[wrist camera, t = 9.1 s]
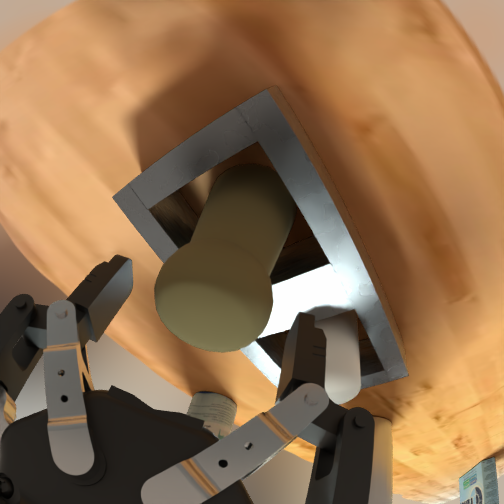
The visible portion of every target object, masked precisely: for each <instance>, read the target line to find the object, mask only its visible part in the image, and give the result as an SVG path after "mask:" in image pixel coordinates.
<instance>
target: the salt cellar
mask: <svg viewBox="0 0 504 504" xmlns="http://www.w3.org/2000/svg"><path fill="white" fill-rule="evenodd" d="M315 327H316V328H320V329H323V331H324V334H325V336H326V338H327V346H326V371H325V391H326V392H327V394H328V397H329V398H330V399H331V400H332V401H333V402H334V403H336V404H338V405H339V404H342V403H345V402H348V401H350V400H351V399H353V398H354V397H355V396H357V394H358V393H359V391H360V389H361V376H360V354H359V338H358V324H357V315H356V311H355V309H352V310H349V311H346V312H343V313H340V314H337V315H334V316H331V317H328V318H325V319H322V320H318V321H315Z"/></svg>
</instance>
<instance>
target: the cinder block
mask: <svg viewBox="0 0 504 504" xmlns="http://www.w3.org/2000/svg"><path fill="white" fill-rule="evenodd" d="M257 141H258V142H259V144H260V145H261V147H262V148H263V150H264V151H265V153H266V155H267V156H268V158H269V159H270V161H271V163H272V164H273V166H274V167H275V169H276V171H277V172H278V174H279V176H280V177H281V179H282V180H283V182H284V184H285V185H286V187H287V189H288V190H289V192H290V194H291V195H292V197H293V199H294V200H295V202H296V204H297V205H298V207H299V209H300V210H301V212H302V214H303V216H304V217H305V219H306V221H307V223H308V224H309V226H310V228H311V229H312V231H313V233H314V236H312V237H309V238H307V239H305V240H302V241H300V242H297V243H295V244H293V245H290V246H288V247H285V248H283V249H282V250H281V252H280V254H279V257H278V259H277V261H276V263H275V265H274V268H273V270H272V272H271V274H270V276H269V277H270V279H271V284H272V291H273V300H274V303H273V309H272V313H271V316H270V319H269V322H268V324H267V326H266V328H265V330H264V331H263V333H262V334H261V335H260V336H259V337H258V338H257V339H256V340H255V341H253V342H252V343H251V344H249V345H248V346H246V347H244V348H241V349H240V350H241V351H242V352H243V353H244V354H245V355H246V356H247V357H248V359H249V360H250V361H251V362H252V363H253V364H254V365H255V366H256V367H257V368H258V369H259V370H260V371H261V372H262V373H263V374H264V375H265V376H266V377H267V378H268V379H269V380H270V381H271V382H272V383H273V384H274V385H275V386H276V387H277V388H278V384H279V379H280V373H281V367H282V360H283V354H284V348H285V342H286V339H287V335H286V333H285V332H284V331H285V330H288V329H290V328H291V326H292V324H293V322H294V320H295V317H296V315H297V313H298V312H299V311H301V312H305V313H308V314H312V315H315V321H318V320H322V319H325V318H328V317H331V316H334V315H337V314H340V313H343V312H346V311H349V310H352V309H355V311H356V313H357V314H358V316H359V318H360V320H361V322H362V324H363V326H364V328H365V330H366V332H367V334H368V336H369V339H366V340H362V341H359V354H360V376H361V389H364V388H368V387H371V386H375V385H379V384H383V383H386V382H390V381H393V380H397V379H400V378H403V377H406V376H409V374H408V368H407V362H406V356H405V350H404V344H403V340H402V337H401V335H400V332H399V329H398V326H397V324H396V321H395V318H394V316H393V313H392V310H391V308H390V305H389V303H388V300H387V298H386V295H385V293H384V290H383V288H382V285H381V283H380V281H379V278H378V276H377V273H376V271H375V269H374V266H373V264H372V262H371V260H370V257H369V255H368V253H367V251H366V248H365V246H364V244H363V242H362V240H361V237H360V235H359V233H358V231H357V229H356V227H355V225H354V223H353V220H352V218H351V216H350V214H349V212H348V210H347V208H346V206H345V204H344V202H343V200H342V198H341V196H340V194H339V192H338V190H337V188H336V187H335V185H334V183H333V181H332V179H331V177H330V175H329V173H328V171H327V170H326V168H325V166H324V164H323V162H322V160H321V159H320V157H319V155H318V153H317V151H316V150H315V148H314V146H313V144H312V143H311V141H310V139H309V137H308V136H307V134H306V132H305V131H304V129H303V127H302V125H301V124H300V122H299V120H298V119H297V117H296V115H295V114H294V112H293V111H292V109H291V107H290V106H289V104H288V103H287V101H286V99H285V98H284V96H283V95H282V93H281V91H280V90H279V88H278V87H277V85H275V86H273V87H270V88H268V89H266V90H264V91H262V92H260V93H259V94H257V95H255V96H254V97H252V98H250V99H248V100H247V101H245V102H243V103H242V104H240V105H239V106H237V107H235V108H234V109H232V110H230V111H229V112H227V113H226V114H224V115H223V116H221V117H219V118H218V119H216V120H215V121H213V122H212V123H210V124H209V125H207V126H206V127H204V128H203V129H201V130H200V131H198V132H197V133H195V134H194V135H192V136H191V137H190V138H188V139H187V140H185V141H184V142H182V143H181V144H180V145H178V146H177V147H175V148H174V149H173V150H171V151H170V152H169V153H167V154H166V155H165V156H163V157H162V158H160V159H159V160H158V161H157V162H155V163H154V164H153V165H151V166H150V167H149V168H147V169H146V170H145V171H144V172H142V173H141V174H140V175H138V176H137V177H136V178H135V179H133V180H132V181H131V182H130V183H128V184H127V185H126V186H125V187H124V188H122V189H121V190H120V191H119V192H118V193H116V194H115V195H114V196H113V197H112V198H113V199H114V200H115V202H116V203H117V204H118V206H119V207H120V208H121V210H122V211H123V212H124V214H125V215H126V216H127V218H128V219H129V220H130V222H131V223H132V224H133V225H134V227H135V228H136V229H137V231H138V232H139V233H140V234H141V236H142V237H143V238H144V239H145V241H146V242H147V243H148V244H149V246H150V247H151V248H152V249H153V251H154V252H155V253H156V254H157V256H158V257H159V258H160V259H161V260H162V262H163V263H165V262H166V260H167V259H168V258H169V257H170V256H171V255H172V254H174V253H175V252H176V251H177V250H178V249H180V248H181V247H182V246H184V245H185V244H188V243H190V241H191V238H192V236H193V233H194V231H195V228H196V226H197V223H198V221H199V218H198V217H197V215H196V214H195V213H194V211H193V210H192V209H191V207H190V206H189V204H188V203H187V202H186V200H185V199H184V198H183V196H182V195H181V193H180V192H179V191H178V189H179V188H181V187H182V186H184V185H185V184H187V183H189V182H190V181H192V180H193V179H195V178H196V177H198V176H200V175H201V174H203V173H205V172H206V171H208V170H209V169H211V168H213V167H214V166H216V165H218V164H219V163H221V162H223V161H224V160H226V159H228V158H229V157H231V156H233V155H234V154H236V153H238V152H240V151H241V150H243V149H245V148H246V147H248V146H250V145H252V144H254V143H255V142H257Z"/></svg>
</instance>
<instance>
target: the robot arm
mask: <svg viewBox="0 0 504 504" xmlns="http://www.w3.org/2000/svg"><path fill="white" fill-rule="evenodd" d="M132 287H133V272H132V260H131V259H129V258H126V257H123V256H120V255H115V256H114V257H113V258H112V259H111V260H110V261H109V263H108V262H103V263H101V264H99V265H97V266H96V267H95V268H94V269H93V270H92V271H91V272H90V274H89V275H87V277H86V278H85V280H83V281H82V282H81V283H80V284H79V286H78V287H77V288H76V289H75V290H74V291H73V293H72V294H71V295H70V296H69V297H68V298H67V299H66V300H59V301H56V302H54V303H53V304H51V305H50V306H45V305H38V304H35V303H34V300H33V298H32V297H31V296H30V295H28V294H20V295H18V296H16V297H14V298H13V299H12V300H11V301H10V303H9V304H8V305H7V306H6V307H5V309H4V310H3V311H2V313H1V314H0V504H253V502H252V500H251V498H250V496H249V494H248V493H247V490H246V488H245V486H244V484H243V483H242V481H243V480H244V479H245V478H247V477H248V476H250V475H251V474H252V473H254V472H255V471H256V470H258V469H259V468H260V467H262V466H263V465H264V464H265V463H266V462H268V461H269V460H270V459H271V458H273V457H274V456H275V455H276V454H278V453H279V452H280V451H281V450H283V449H284V448H285V447H286V446H288V445H289V444H290V443H291V442H292V441H293V440H295V439H296V438H297V437H300V438H302V439H303V440H305V441H307V442H309V443H311V444H313V445H315V446H317V447H316V452H315V458H314V463H313V469H312V474H311V479H310V484H309V488H308V493H307V498H306V503H305V504H392V489H393V445H392V424H391V422H390V421H389V420H387V419H384V418H380V417H373V416H372V415H371V413H370V412H369V411H367V410H366V409H364V408H360V407H355V408H352V409H350V410H347V409H345V408H343V407H341V406H339V405H338V404H336V403H334V402H333V401H332V400H331V399H330V398H329V397H328V394H327V392H326V391H325V371H326V346H327V338H326V336H325V334H324V331H323V329H320V328H316V327H315V315H312V314H308V313H305V312H301V311H299V312H298V313H297V315H296V317H295V320H294V322H293V324H292V326H291V328H290V330H289V333H288V335H287V339H286V342H285V348H284V354H283V360H282V367H281V373H280V379H279V384H278V390H277V396H276V402H275V406H274V407H273V408H271V409H270V410H269V411H267V412H265V413H264V412H262V413H260V414H258V415H257V416H255V417H254V418H253V419H251V420H250V421H248V422H247V423H245V424H244V425H242V426H241V427H239V428H238V429H236V430H235V431H233V432H232V433H230V434H229V435H227V436H226V437H224V438H223V439H221V440H220V439H219V438H218V437H217V436H216V435H215V434H214V433H213V432H211V431H210V430H209V429H207V428H206V427H204V422H205V421H204V420H201V419H198V418H195V417H192V416H189V415H186V414H183V413H178V412H169V411H161V410H155V409H153V408H151V407H150V406H148V405H147V404H145V403H144V402H142V401H141V400H140V399H138V398H137V397H135V396H134V395H133V394H130V393H128V392H126V391H123V390H121V389H119V388H116V387H115V386H111V387H110V389H109V391H107V390H95V389H94V386H93V383H92V378H91V374H90V367H89V360H88V353H87V346H86V343H87V342H88V340H89V339H90V340H92V341H95V342H97V341H98V340H99V339H100V337H101V336H102V334H103V333H104V331H105V330H106V328H107V327H108V325H109V324H110V322H111V321H112V319H113V318H114V316H115V315H116V314H117V312H118V311H119V309H120V308H121V306H122V305H123V303H124V302H125V301H126V299H127V298H128V296H129V295H130V293H131V291H132ZM20 337H21V338H20ZM19 338H20V339H19ZM18 340H19V341H18ZM17 341H18V342H17ZM15 344H16V345H15ZM13 347H14V348H13ZM42 354H43V361H44V378H45V391H46V401H47V409H44V410H42V411H39V412H37V413H34V414H32V415H29V416H27V417H24V418H21V419H19V420H16V421H14V420H15V419H16V404H15V400H16V399H17V397H18V395H19V393H20V391H21V390H22V388H23V386H24V384H25V383H26V381H27V379H28V378H29V376H30V374H31V372H32V371H33V369H34V367H35V366H36V364H37V363H38V361H39V359H40V358H41V356H42Z"/></svg>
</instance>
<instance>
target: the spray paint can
mask: <svg viewBox="0 0 504 504" xmlns="http://www.w3.org/2000/svg"><path fill="white" fill-rule="evenodd" d="M236 409H237V406H236V404H235V403H234V402H233V401H232V400H231V399H229V398H227V397H225V396H223V395H220V394H217V393H213V392H205V391H204V392H198V393H196V394H194V396H193V398H192V401H191V403H190V406H189V409H188V412H187V414H186V415H189V416H192V417H195V418H198V419H201V420H204V421H205V422H204V427H206V428H207V429H209V430H210V431H211V432H213V433H214V434H215V435H216V436H217V437H218V438H219V439H220V440H221V439H223V438H224V437H226V436H227V435H229V434H230V433H231V431H232V427H233V423H234V419H235V415H236V411H237V410H236Z"/></svg>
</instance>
